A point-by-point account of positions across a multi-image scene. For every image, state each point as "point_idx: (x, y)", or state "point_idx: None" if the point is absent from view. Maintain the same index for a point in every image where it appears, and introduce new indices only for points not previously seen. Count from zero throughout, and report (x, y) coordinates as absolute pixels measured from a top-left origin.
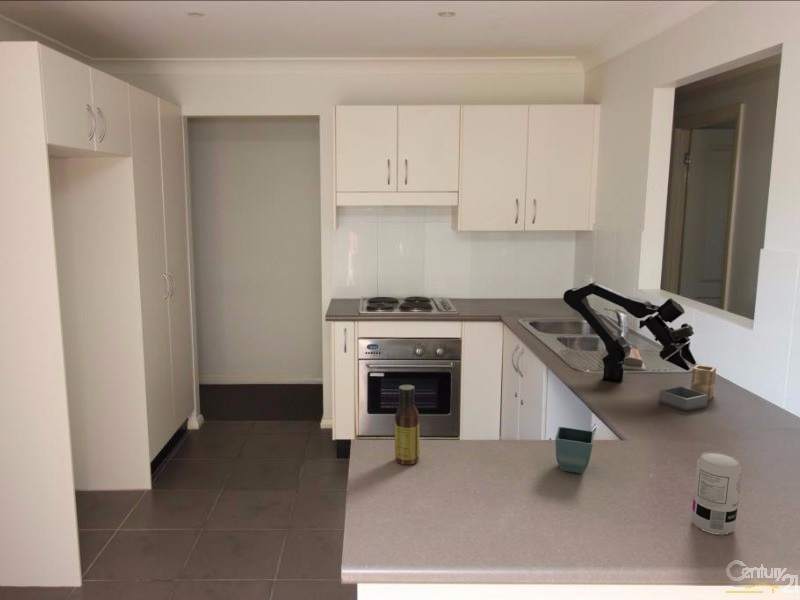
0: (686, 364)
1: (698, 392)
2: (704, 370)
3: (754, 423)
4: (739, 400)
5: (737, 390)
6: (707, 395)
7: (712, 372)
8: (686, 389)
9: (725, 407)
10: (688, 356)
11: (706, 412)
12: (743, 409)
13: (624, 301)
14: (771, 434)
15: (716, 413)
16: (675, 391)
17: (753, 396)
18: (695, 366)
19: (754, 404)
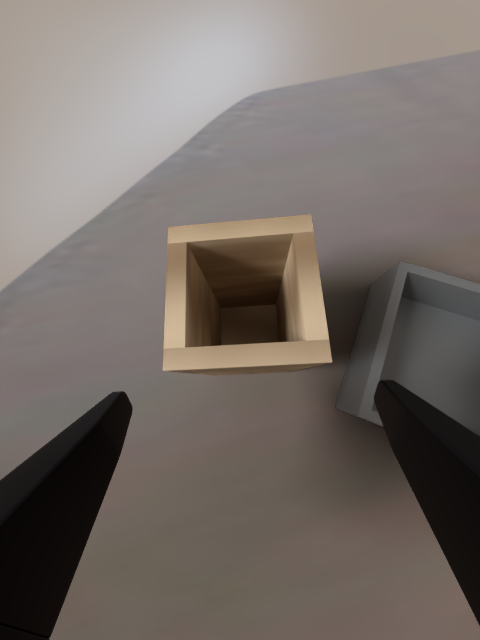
0: (450, 418)
1: (398, 305)
2: (318, 269)
3: (416, 138)
4: (204, 222)
5: (83, 255)
6: (402, 262)
7: (304, 220)
8: (378, 373)
9: (323, 235)
10: (64, 505)
11: (442, 267)
12: (299, 190)
13: None
14: (474, 90)
15: (421, 239)
16: None
17: (127, 202)
18: (248, 361)
19: (217, 180)
